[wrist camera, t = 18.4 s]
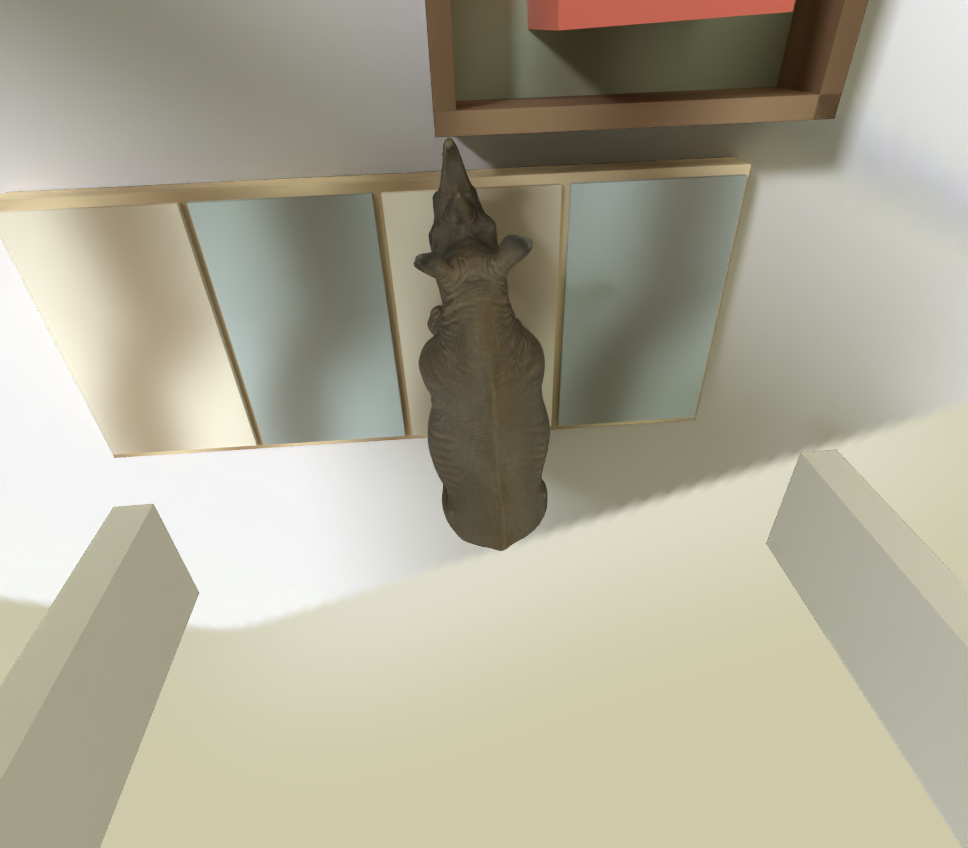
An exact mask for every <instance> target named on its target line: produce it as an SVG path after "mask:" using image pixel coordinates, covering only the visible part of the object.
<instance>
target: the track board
mask: <svg viewBox="0 0 968 848" xmlns="http://www.w3.org/2000/svg"><path fill="white" fill-rule="evenodd" d="M750 169H751V163H748V162H746V161H744V160H742V159H739V158H737V157H723V158H702V159H681V160H661V161H640V162H620V163H599V164H578V165H558V166H537V167H517V168H496V169H476V170H466V173H467V175H468V178H469V180H470V182H471V184H472V186H474V187H475V188H476V191H477V194H478V197H479V201H480V203H481V205H482V208H483V210H484V212H485V213H486V214H487V215H488V216H490V217H491V218H492V219H493V221H494V222H495V224H496V230H497V241H498V245H499V246H500V244H501V242H502V240H503V238H504V237H505V236H507V235H518V236H520V237H526V238H528V239H531V240H532V242H533V246H532V249H531V251H530V252H529V254H528V255H527V256H526V257H525V258H524V259H523V260H522V261H520V262H519V263H518V264H516V265H515V266H513V267H512V268H511V270H510V271H509V273H508V275H507V277H506V278H507V282H508V297H509V301H510V303H511V305H512V310H513V311H514V314H515V318H517V319H519V320H520V322H521V324H522V325H523V326H524V327H525V328H527V329H528V330H529V331H530V332H531V333H532V334H533V335H534V336H535V337H536V338H537V339H538V341H539V342H540V344H541V346H542V349H543V352H544V358H545V371H544V377H543V382H542V396H543V401H544V404H545V407H546V410H547V413H548V418H549V424H550V429H566V428H581V427H597V426H612V425H628V424H643V423H658V422H674V421H689V420H695V418H696V414H697V409H698V404H699V400H700V395H701V391H702V386H703V382H704V377H705V373H706V368H707V364H708V359H709V355H710V350H711V346H712V341H713V337H714V332H715V327H716V323H717V318H718V314H719V309H720V305H721V300H722V296H723V291H724V287H725V282H726V278H727V273H728V269H729V264H730V260H731V255H732V250H733V246H734V241H735V237H736V232H737V228H738V223H739V219H740V214H741V210H742V205H743V201H744V196H745V192H746V187H747V183H748V178H749V173H750ZM440 179H441V171H434V172H414V173H393V174H373V175H352V176H331V177H311V178H290V179H270V180H249V181H228V182H208V183H187V184H167V185H146V186H126V187H105V188H84V189H64V190H43V191H23V192H6V193H3V194H0V238H1V240H2V242H3V244H4V246H5V248H6V250H7V252H8V253H9V255H10V257H11V259H12V261H13V263H14V265H15V267H16V269H17V271H18V273H19V275H20V277H21V279H22V280H23V282H24V284H25V286H26V288H27V290H28V292H29V294H30V296H31V298H32V300H33V302H34V304H35V305H36V307H37V309H38V311H39V313H40V315H41V317H42V319H43V321H44V323H45V325H46V327H47V329H48V331H49V332H50V334H51V336H52V338H53V340H54V342H55V344H56V346H57V348H58V350H59V352H60V354H61V356H62V357H63V359H64V361H65V363H66V365H67V367H68V369H69V371H70V373H71V375H72V377H73V379H74V381H75V383H76V384H77V386H78V388H79V390H80V392H81V394H82V396H83V398H84V400H85V402H86V404H87V406H88V408H89V409H90V411H91V413H92V415H93V417H94V419H95V421H96V423H97V425H98V427H99V429H100V431H101V433H102V435H103V436H104V438H105V440H106V442H107V444H108V446H109V448H110V450H111V452H112V454H113V456H114V458H118V457H133V456H149V455H164V454H180V453H195V452H210V451H226V450H241V449H257V448H272V447H288V446H303V445H319V444H334V443H349V442H365V441H380V440H396V439H411V438H427V437H428V420H429V415H430V411H431V407H432V403H431V395H430V393H429V391H428V390H427V388H426V386H425V384H424V381H423V379H422V376H421V373H420V370H419V363H418V361H419V357H420V354H421V351H422V348H423V347H424V345H425V343H426V342H427V341H428V340H429V339H430V338H432V337H433V336H434V335H433V334H432V333H431V332H430V330H429V328H428V326H427V323H428V319H429V317H430V311H431V310H432V309H433V307H435V306H437V305H441V306H442V300H441V296H440V292H439V287H438V285H437V282H436V279H435V278H433V277H431V276H429V275H427V274H425V273H423V272H421V271H420V270H418V269H417V268H415V267H414V263H413V262H415V257H416V256H418V255H419V254H423V253H429V252H431V248H430V243H429V232H430V230H431V228H432V225H433V222H434V209H433V199H432V198H433V195H434V193H435V192H436V191H438V189H439V186H440Z"/></svg>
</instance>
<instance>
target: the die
mask: <svg viewBox="0 0 968 848" xmlns="http://www.w3.org/2000/svg"><path fill="white" fill-rule="evenodd" d="M794 3H795V0H527V22H528V29H537V30H557V31H559V30H571V29H584V28H596V27H609V26H621V25H634V24H646V23H659V22H671V21H683V20H696V19H708V18H721V17H733V16H746V15H758V14H771V13H783V12H793V8H794Z"/></svg>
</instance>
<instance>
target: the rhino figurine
mask: <svg viewBox="0 0 968 848" xmlns="http://www.w3.org/2000/svg"><path fill="white" fill-rule="evenodd" d="M442 155H443V163H442V171H441V179H440V186H439V189H438V191H436V192H435V193H434V195H433V198H432V199H433V209H434V222H433V225H432V228H431V230H430V232H429V243H430V248H431V252H429V253H423V254H419V255H418V256H416V257H415V262H413V263H414V267H415V268H417V269H418V270H420V271H421V272H423V273H425V274H427V275H429V276H431V277H433V278H435V279H436V282H437V285H438V287H439V292H440V296H441V300H442V306H441V305H437V306H435V307H433V309H432V310H431V311H430V317H429V319H428V323H427V326H428V328H429V330H430V332H431V333H432V334H433V335H434V336H433V337H432V338H430V339H429V340H428V341H427V342H426V343H425V345H424V347H423V348H422V351H421V354H420V357H419V361H418V363H419V370H420V373H421V376H422V379H423V381H424V384H425V386H426V388H427V390H428V391H429V393H430V395H431V403H432V407H431V411H430V415H429V420H428V445H429V451H430V455H431V458H432V461H433V464H434V467H435V469H436V471H437V473H438V475H439V478H440V479H441V481H442V482H443V493H442V505H443V510H444V514H445V517H446V519H447V521H448V523H449V524H450V526H451V527H452V529H453V530H454V531H455V532H456V534H457V535H458V536H459V537H460V538H461V539H462V540H464V541H466V542H469V543H472V544H475V545H478V546H482V547H488V548H492V549H495V550H499V551H503V550H505V549H507V548H508V547H509V546H511V545H512V544H513V543H515V542H517V541H519V540H521V539H523V538H524V537H526V536H527V535H528V534H530V533H531V532H532V531H533V530H534V529H535V528H536V527H537V526H538V525H539V524H540V522H541V520H542V519H543V517H544V514H545V512H546V509H547V488H546V485H545V482H544V481H543V479H542V478H541V476H542V471H543V466H544V462H545V458H546V454H547V450H548V444H549V434H550V424H549V418H548V413H547V410H546V407H545V404H544V401H543V396H542V382H543V377H544V371H545V358H544V352H543V349H542V346H541V344H540V342H539V341H538V339H537V338H536V337H535V336H534V335H533V334H532V333H531V332H530V331H529V330H528V329H527V328H525V327H524V326H523V325H522V324H521V322H520V320H519V319H517V318H515V314H514V311H513V310H512V305H511V303H510V301H509V297H508V282H507V278H506V277H507V275H508V273H509V271H510V270H511V268H512V267H513V266H515V265H516V264H518V263H519V262H520V261H522V260H523V259H524V258H525V257H526V256H527V255H528V254H529V252H530V251H531V249H532V246H533V242H532V240H531V239H528V238H526V237H520V236H518V235H507V236H505V237H504V238H503V240H502V242H501V244H500V246H499V245H498V241H497V230H496V224H495V222H494V221H493V219H492V218H491V217H490V216H488V215H487V214H486V213H485V212H484V210H483V208H482V205H481V203H480V201H479V197H478V194H477V191H476V188H475V187H474V186H472V184H471V182H470V180H469V178H468V175H467V173H466V170H465V167H464V165H463V162H462V159H461V156H460V153H459V151H458V148H457V146H456V144H455V142H454V141H453V140H452V139H450V138H447V139H445V141H444V145H443V153H442Z"/></svg>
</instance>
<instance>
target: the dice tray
mask: <svg viewBox="0 0 968 848" xmlns="http://www.w3.org/2000/svg"><path fill="white" fill-rule="evenodd" d="M867 3H868V0H795V3H794V8H793V12H783V13H771V14H758V15H746V16H733V17H721V18H708V19H696V20H683V21H671V22H659V23H646V24H634V25H621V26H609V27H596V28H584V29H571V30H559V31H557V30H537V29H528V22H527V0H425V5H426V19H427V32H428V46H429V59H430V73H431V86H432V100H433V113H434V127H435V137H452V136H473V135H495V134H516V133H538V132H559V131H581V130H602V129H624V128H645V127H667V126H688V125H710V124H731V123H753V122H774V121H796V120H817V119H834V118H835V115H836V111H837V108H838V104H839V101H840V97H841V94H842V90H843V87H844V83H845V80H846V76H847V73H848V69H849V66H850V62H851V59H852V55H853V52H854V48H855V45H856V41H857V38H858V34H859V31H860V27H861V24H862V20H863V17H864V13H865V10H866V6H867Z"/></svg>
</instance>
